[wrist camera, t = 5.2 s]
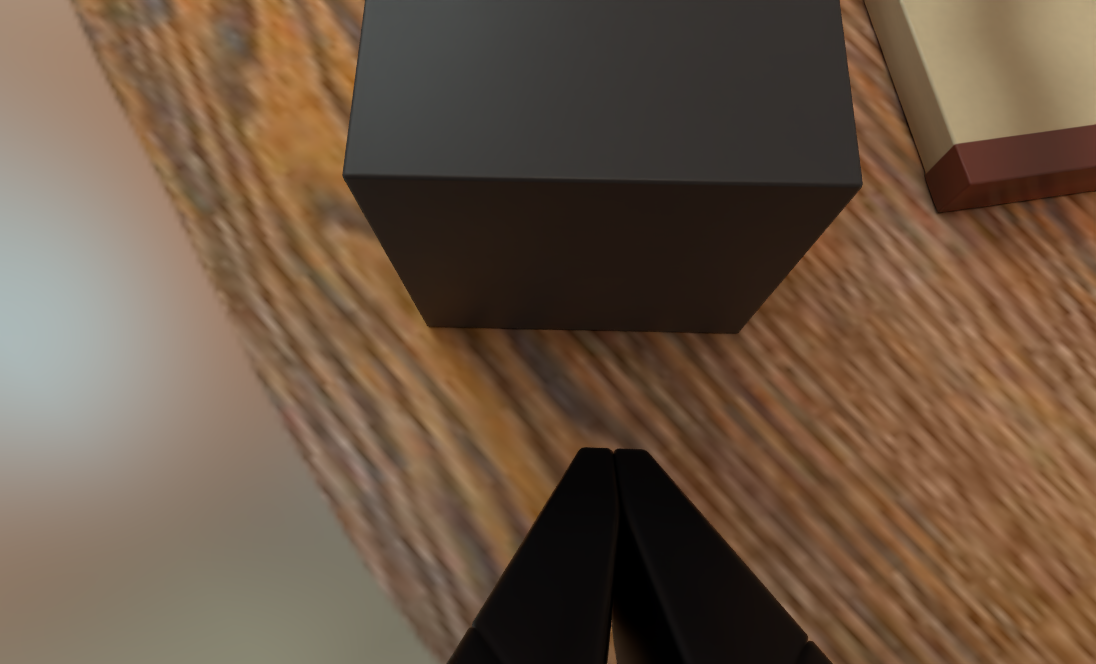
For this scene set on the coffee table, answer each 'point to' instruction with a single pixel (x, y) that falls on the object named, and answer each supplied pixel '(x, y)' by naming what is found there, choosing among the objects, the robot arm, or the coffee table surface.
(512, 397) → the coffee table surface
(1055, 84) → the notebook
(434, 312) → the block
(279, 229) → the coffee table surface
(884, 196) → the coffee table surface
